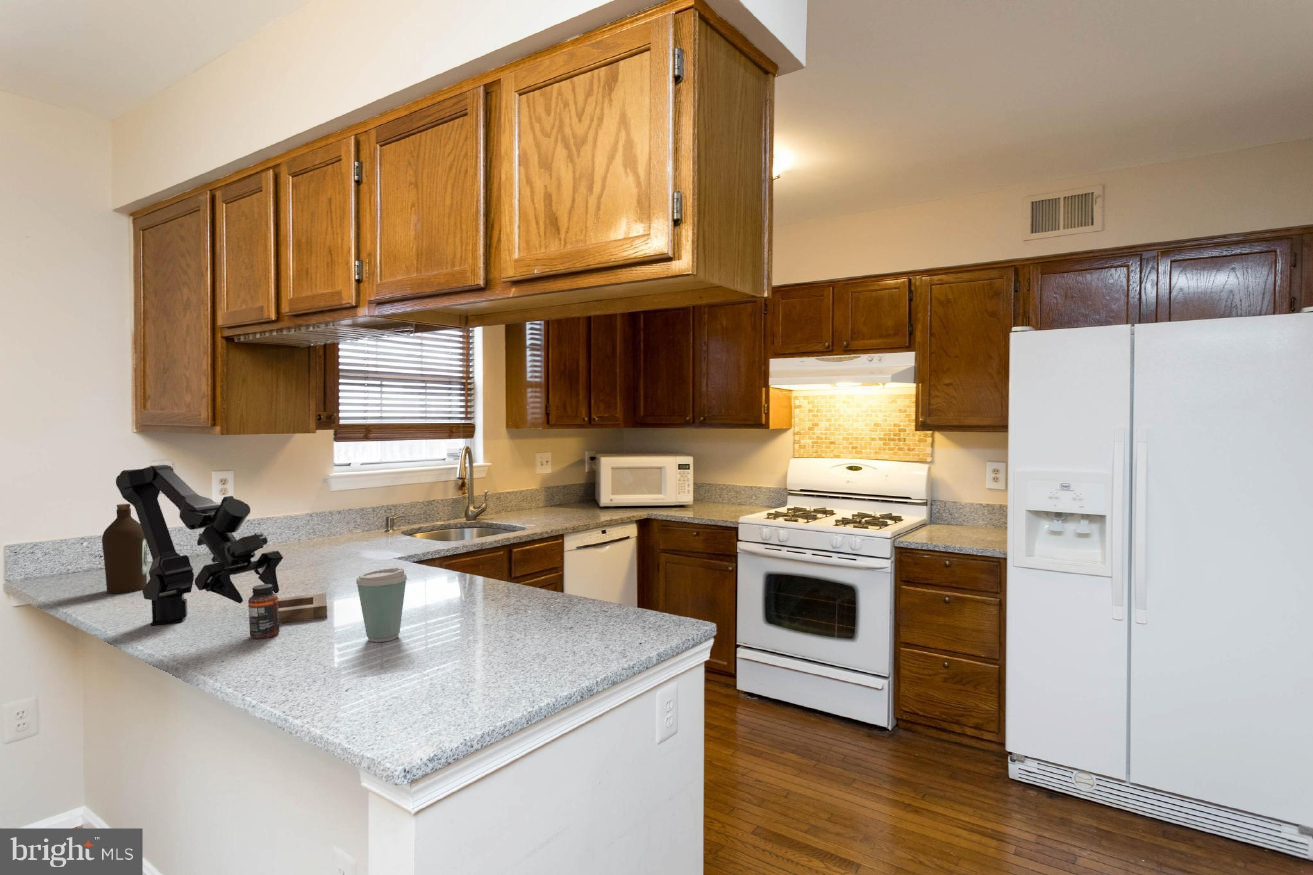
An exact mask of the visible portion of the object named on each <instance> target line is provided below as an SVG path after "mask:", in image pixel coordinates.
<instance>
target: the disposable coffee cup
mask: <svg viewBox="0 0 1313 875" xmlns="http://www.w3.org/2000/svg"><path fill="white" fill-rule="evenodd" d="M407 580H408V578H407V574H406V573H405V568H403V567H388V568H382V569H376V570H371V571H368V572H364V573H362V574H360V575H358V577H357V578H356V581H355V582H356V585H357V592H358V596H359V602H360V606H361V613H362V617H363V623H364V628H365V635H366V637H367V639H368V641H369V642H373V643H381V642H382V643H383V642H389V641H393V640H395V639H397V638H398V637H399V634H400V632H401V624H402V619H403V618H402V616H403V609H404V608H403V607H404V601H405V592H406V584H407V583H406V582H407Z"/></svg>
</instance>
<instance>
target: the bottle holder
mask: <svg viewBox="0 0 1313 875" xmlns="http://www.w3.org/2000/svg"><path fill="white" fill-rule="evenodd" d="M327 600H328V599H327V592H322V593H315V594H304V595H297V596H296V595H295V596H287V597H278V609H279V625H280V624H287V623H294V622H296V623H297V622H302V621H311V620H320V619H326V618H328V603H327Z"/></svg>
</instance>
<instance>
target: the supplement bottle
mask: <svg viewBox="0 0 1313 875" xmlns="http://www.w3.org/2000/svg"><path fill="white" fill-rule="evenodd" d="M251 594H252V596H250V597H249V598H248V602H247V603H248V605H247V606H248V607H247V608H248V620H249V621H248V625H249V636H250V638H252V639H256V640H257V639H258V640H261V639H268V638H271V637H275V636H276V635H278V634H279V633H280V624H279V609H278V598H279V597H278V594H277V593H274V592H273V587H272V585H271V584H264V583H262V584H257V585H254V586H253V587H252V593H251Z"/></svg>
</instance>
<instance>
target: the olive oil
mask: <svg viewBox="0 0 1313 875" xmlns="http://www.w3.org/2000/svg"><path fill="white" fill-rule="evenodd" d="M101 546H102V554H103V562H104V572H105V584H106V593H107V594H111V595H112V594H113V595H117V594H129V593H134V592H139V591H143V589H144V587H145V586H146V584H147V583H148V579H147V578H148V544H147V542H146V539H145V536H144V533H143V530H142V527H141V524H140V522H138V521H137V520H136V519H134V518H133V516H132V508H131V504H130V503H119V504H116V518H115V519H114V520H113V521H112V522H111V523H110V524H109V526H107V528H105V530H104V531H103V533H102V537H101Z"/></svg>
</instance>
